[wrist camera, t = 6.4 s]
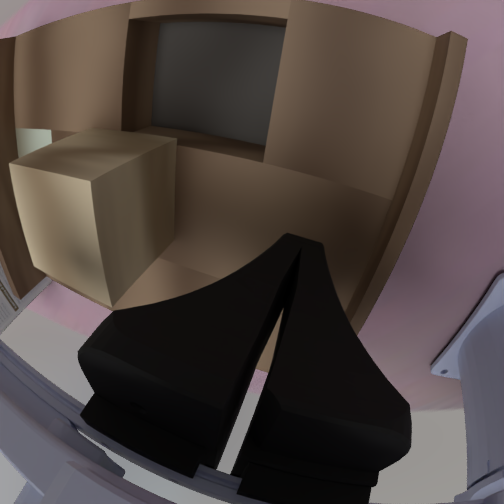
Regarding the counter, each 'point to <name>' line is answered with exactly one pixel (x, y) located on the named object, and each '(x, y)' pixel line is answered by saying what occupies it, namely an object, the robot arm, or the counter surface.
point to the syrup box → (15, 300)
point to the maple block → (97, 207)
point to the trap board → (243, 131)
